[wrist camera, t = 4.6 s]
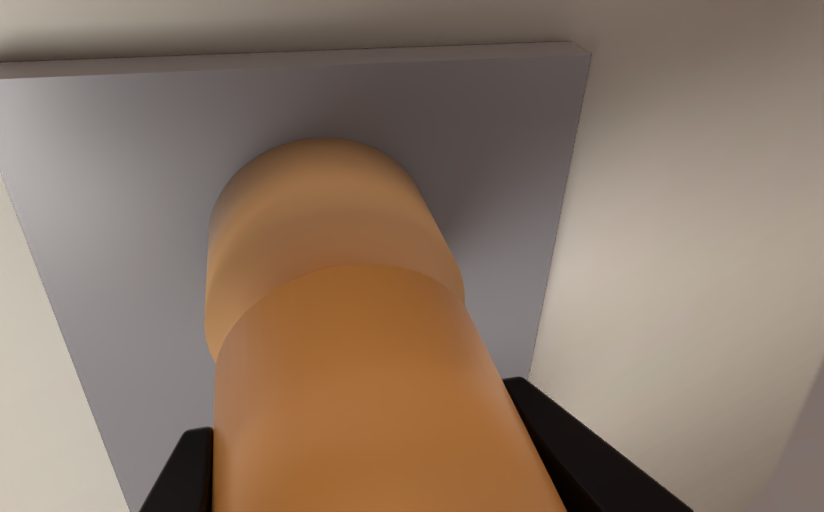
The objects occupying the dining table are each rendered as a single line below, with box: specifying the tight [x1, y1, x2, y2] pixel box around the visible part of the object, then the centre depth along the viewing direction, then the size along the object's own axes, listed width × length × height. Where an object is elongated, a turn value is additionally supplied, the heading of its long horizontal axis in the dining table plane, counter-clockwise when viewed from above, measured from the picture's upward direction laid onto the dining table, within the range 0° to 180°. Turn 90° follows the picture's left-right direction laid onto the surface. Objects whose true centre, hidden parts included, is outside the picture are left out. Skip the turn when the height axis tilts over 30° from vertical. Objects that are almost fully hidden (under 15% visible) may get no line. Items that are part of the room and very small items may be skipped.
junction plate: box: [0, 41, 592, 512], centre depth 14 cm, size 16×12×8 cm
